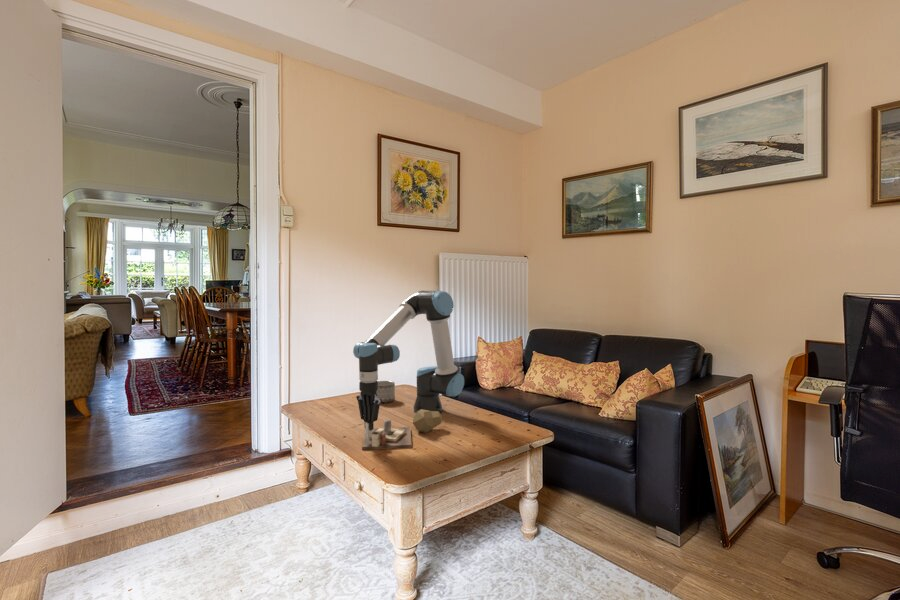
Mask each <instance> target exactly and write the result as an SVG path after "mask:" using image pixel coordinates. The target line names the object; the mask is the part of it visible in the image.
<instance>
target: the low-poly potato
mask: <svg viewBox="0 0 900 600" xmlns="http://www.w3.org/2000/svg"><path fill="white" fill-rule="evenodd" d="M442 423H443V415H442V414H441V412H440V413H439V411H428V410H423V409H421V410H419V411H417V413H414V415H413V418H412V425H413V426H414V428H415V429H416V430H417V431H418V432H421V433H426V434H428V432H430V431H431V430H433V429H435V428H436V427H438V426H439V425H441V424H442Z"/></svg>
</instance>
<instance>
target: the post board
mask: <svg viewBox="0 0 900 600" xmlns="http://www.w3.org/2000/svg"><path fill="white" fill-rule="evenodd" d="M383 424H384V425H383V428H384V434H381V444H380V445H379V446H378V447H374V446H372V439H369V438H365V435H364V437H363V440H362V446H361V450H363V451H364V450H365V451H366V450H367V451H369V450H385V449H386V450H389V449H410V448H412V435H411V433H412V432H411V426H409V427H407V426H406V427H403V426H402V427H392V419H385V420H384V421H383ZM379 428H380V427H378V428H377V427H376V428H373V432H375V431H377V430H378V429H379ZM391 428H393V429H403V430H406V433H405V434H403V435H402V436H401V437H400V438H399V439H398V440H397V441H396V442H391V441H386V435H392V434H391Z"/></svg>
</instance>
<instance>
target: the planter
mask: <svg viewBox="0 0 900 600" xmlns="http://www.w3.org/2000/svg"><path fill="white" fill-rule="evenodd" d="M377 381H378V380H377ZM395 386H396V385H395V381H392V380H379V381H378V390H377V391H376V393H377V398H378V399H381V400H382V401H381V402H382V403H381V404H384V403H383V402H386V403H390V402H393V401H395V398H396V396H395V394H396V392H395V391H396V390H395Z"/></svg>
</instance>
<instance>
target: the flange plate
mask: <svg viewBox="0 0 900 600" xmlns="http://www.w3.org/2000/svg"><path fill="white" fill-rule="evenodd" d="M378 428H379V429H378V430H377V431H375V432H373V433H372V437H371V438H369V439H372V446H374V447H378V446H379V445H380V444H381V434H384V427H378ZM393 428H394V427H391V434H392V435H386V441H391V442H396V441H397V440H398V439H399V438H400V437H401V436H402V435H403V434H405V433H406V430H403V429H393Z"/></svg>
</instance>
